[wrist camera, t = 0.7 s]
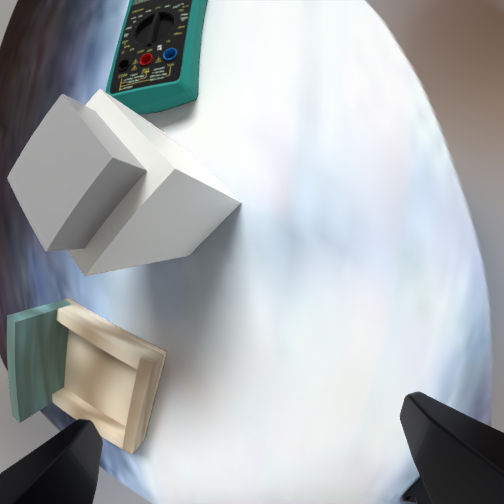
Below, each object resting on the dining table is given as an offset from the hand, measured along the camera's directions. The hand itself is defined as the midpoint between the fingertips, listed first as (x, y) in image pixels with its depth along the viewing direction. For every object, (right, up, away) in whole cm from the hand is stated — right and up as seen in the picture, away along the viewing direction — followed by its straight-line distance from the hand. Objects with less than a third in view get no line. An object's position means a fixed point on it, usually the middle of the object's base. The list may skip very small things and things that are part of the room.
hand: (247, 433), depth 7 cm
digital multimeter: (-7, +23, +14) cm, 27 cm away
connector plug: (-4, +8, +13) cm, 16 cm away
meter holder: (-12, -6, +15) cm, 20 cm away
